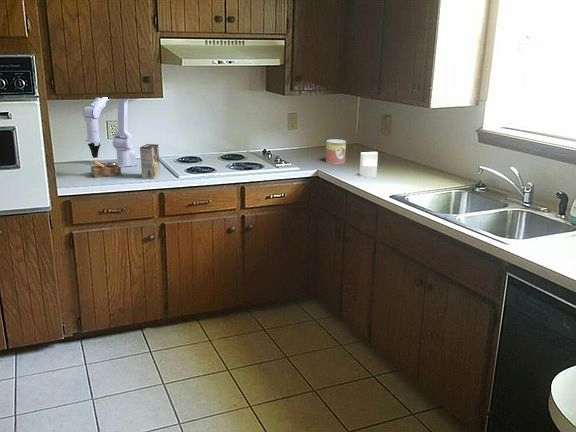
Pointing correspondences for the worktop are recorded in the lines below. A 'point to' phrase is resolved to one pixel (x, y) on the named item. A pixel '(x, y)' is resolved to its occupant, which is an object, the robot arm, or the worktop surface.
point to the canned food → (335, 151)
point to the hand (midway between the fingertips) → (95, 157)
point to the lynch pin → (112, 164)
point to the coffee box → (150, 161)
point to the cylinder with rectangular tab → (368, 164)
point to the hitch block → (105, 171)
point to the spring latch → (98, 163)
